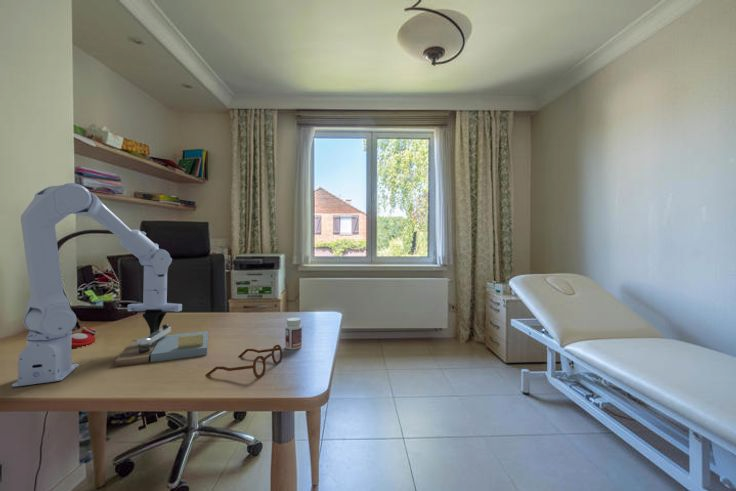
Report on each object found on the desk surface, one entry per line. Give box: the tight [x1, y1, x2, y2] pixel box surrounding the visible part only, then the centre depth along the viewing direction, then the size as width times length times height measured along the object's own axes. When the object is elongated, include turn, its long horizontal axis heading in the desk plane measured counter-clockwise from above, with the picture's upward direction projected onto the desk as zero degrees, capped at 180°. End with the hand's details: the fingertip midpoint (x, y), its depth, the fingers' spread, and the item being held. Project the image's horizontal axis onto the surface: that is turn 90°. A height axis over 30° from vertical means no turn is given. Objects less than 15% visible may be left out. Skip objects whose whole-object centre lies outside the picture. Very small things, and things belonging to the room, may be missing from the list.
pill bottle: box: [284, 317, 303, 351], centre depth 92 cm, size 5×5×8 cm
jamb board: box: [114, 338, 160, 368], centre depth 86 cm, size 18×7×3 cm, turn 26°
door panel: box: [150, 330, 210, 363], centre depth 90 cm, size 18×13×2 cm
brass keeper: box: [178, 334, 203, 348], centre depth 87 cm, size 4×6×3 cm
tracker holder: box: [71, 326, 98, 349], centre depth 94 cm, size 12×4×10 cm
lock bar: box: [136, 323, 172, 347], centre depth 89 cm, size 15×3×2 cm, turn 9°
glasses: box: [205, 344, 283, 379], centre depth 77 cm, size 13×13×5 cm
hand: (154, 335), depth 91 cm, fingers closed, pressing on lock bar
